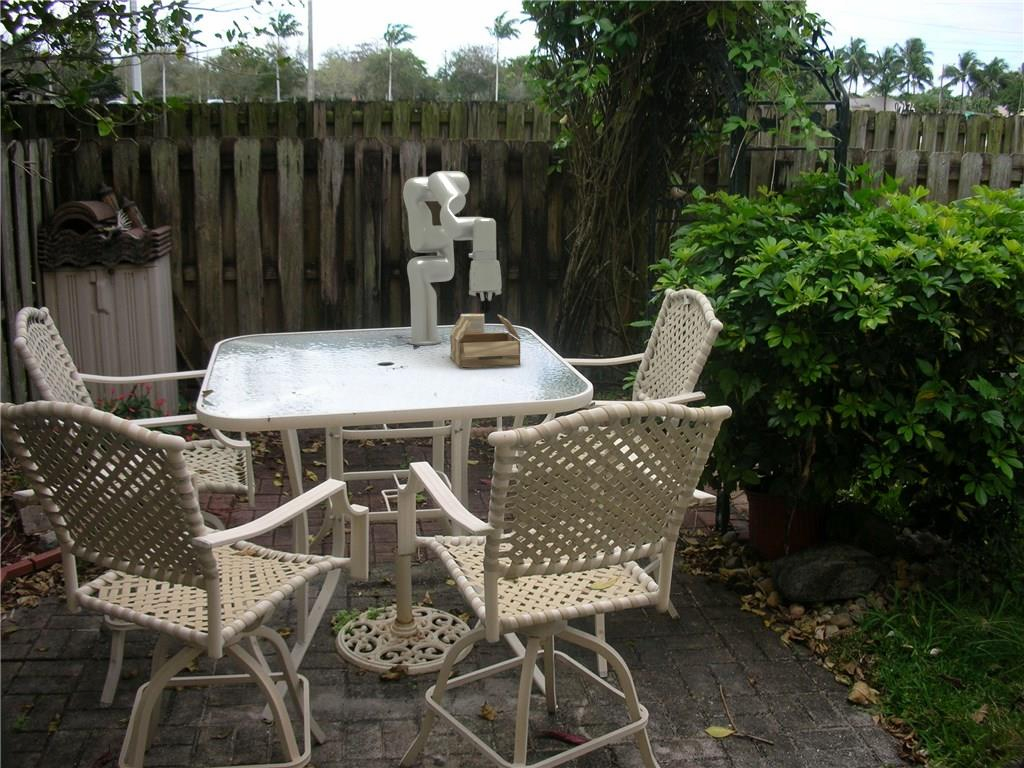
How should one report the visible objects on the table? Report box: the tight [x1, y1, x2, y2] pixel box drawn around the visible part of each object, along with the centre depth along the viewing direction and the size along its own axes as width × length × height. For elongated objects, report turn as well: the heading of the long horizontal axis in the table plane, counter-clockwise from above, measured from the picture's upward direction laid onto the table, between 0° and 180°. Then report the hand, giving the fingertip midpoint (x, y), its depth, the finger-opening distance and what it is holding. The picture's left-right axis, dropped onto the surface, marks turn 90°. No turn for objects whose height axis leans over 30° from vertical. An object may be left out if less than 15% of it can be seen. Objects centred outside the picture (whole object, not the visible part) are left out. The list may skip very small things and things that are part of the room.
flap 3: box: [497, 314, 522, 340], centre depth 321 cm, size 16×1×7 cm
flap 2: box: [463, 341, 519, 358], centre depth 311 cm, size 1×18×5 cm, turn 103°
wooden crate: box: [449, 332, 521, 369], centre depth 321 cm, size 17×20×8 cm
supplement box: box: [459, 313, 486, 333], centre depth 339 cm, size 8×5×13 cm, turn 84°
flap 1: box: [449, 315, 471, 342], centre depth 318 cm, size 16×1×7 cm
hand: (485, 312), depth 318 cm, fingers closed
